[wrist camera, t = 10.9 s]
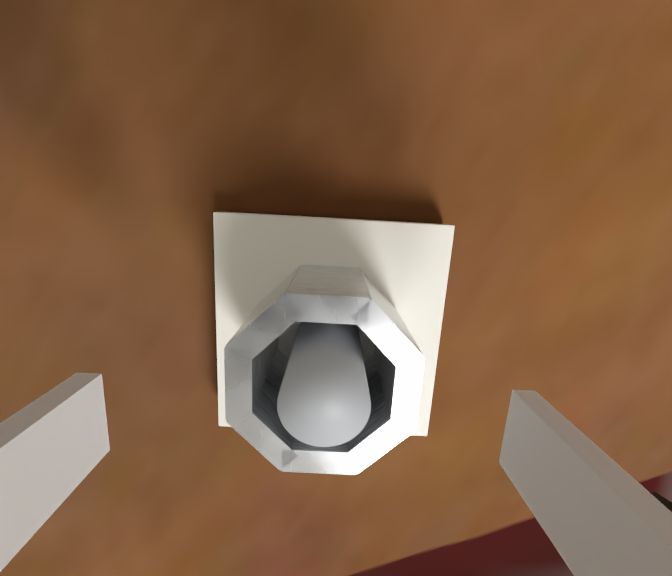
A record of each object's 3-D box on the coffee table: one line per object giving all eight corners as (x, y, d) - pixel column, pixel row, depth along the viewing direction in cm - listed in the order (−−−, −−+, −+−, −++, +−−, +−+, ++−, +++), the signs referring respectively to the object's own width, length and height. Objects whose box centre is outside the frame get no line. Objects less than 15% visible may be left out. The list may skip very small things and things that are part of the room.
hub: (259, 389, 19) (226, 468, 14) (260, 262, 18) (223, 290, 12) (387, 396, 20) (410, 477, 14) (400, 269, 18) (431, 301, 12)
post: (226, 410, 21) (157, 540, 13) (222, 211, 19) (132, 216, 10) (420, 420, 22) (473, 554, 13) (445, 224, 19) (531, 239, 11)
